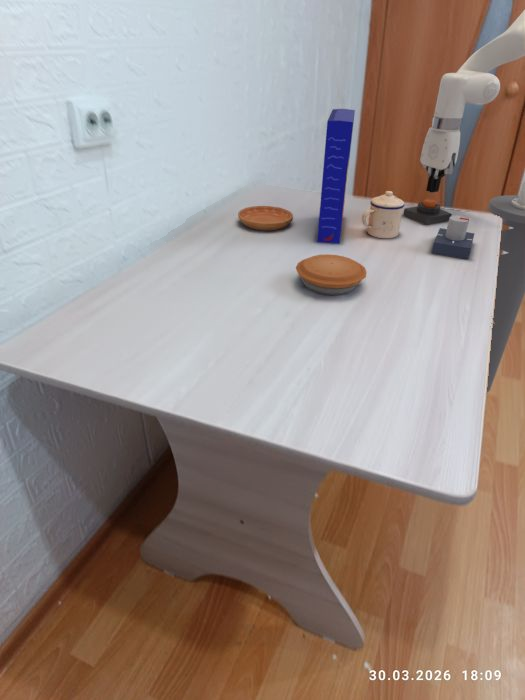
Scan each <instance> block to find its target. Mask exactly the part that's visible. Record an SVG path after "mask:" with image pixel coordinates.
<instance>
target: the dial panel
mask: <svg viewBox="0 0 525 700" xmlns="http://www.w3.org/2000/svg"><path fill="white" fill-rule="evenodd" d="M446 231H447V228H441V227H440V228H439V229H438V232H437V234H436V236H435V238H434V241H433V244H432V249H431V254H433V255H440V256H446V257H451V258H457V259H463V260H469V257H470V254H471V250H472V246H473V241H474V237H475V232H469V231H466V235H465V239H464V240H461V241H455V240H450V239H448V238H446V237H445V235H446Z"/></svg>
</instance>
